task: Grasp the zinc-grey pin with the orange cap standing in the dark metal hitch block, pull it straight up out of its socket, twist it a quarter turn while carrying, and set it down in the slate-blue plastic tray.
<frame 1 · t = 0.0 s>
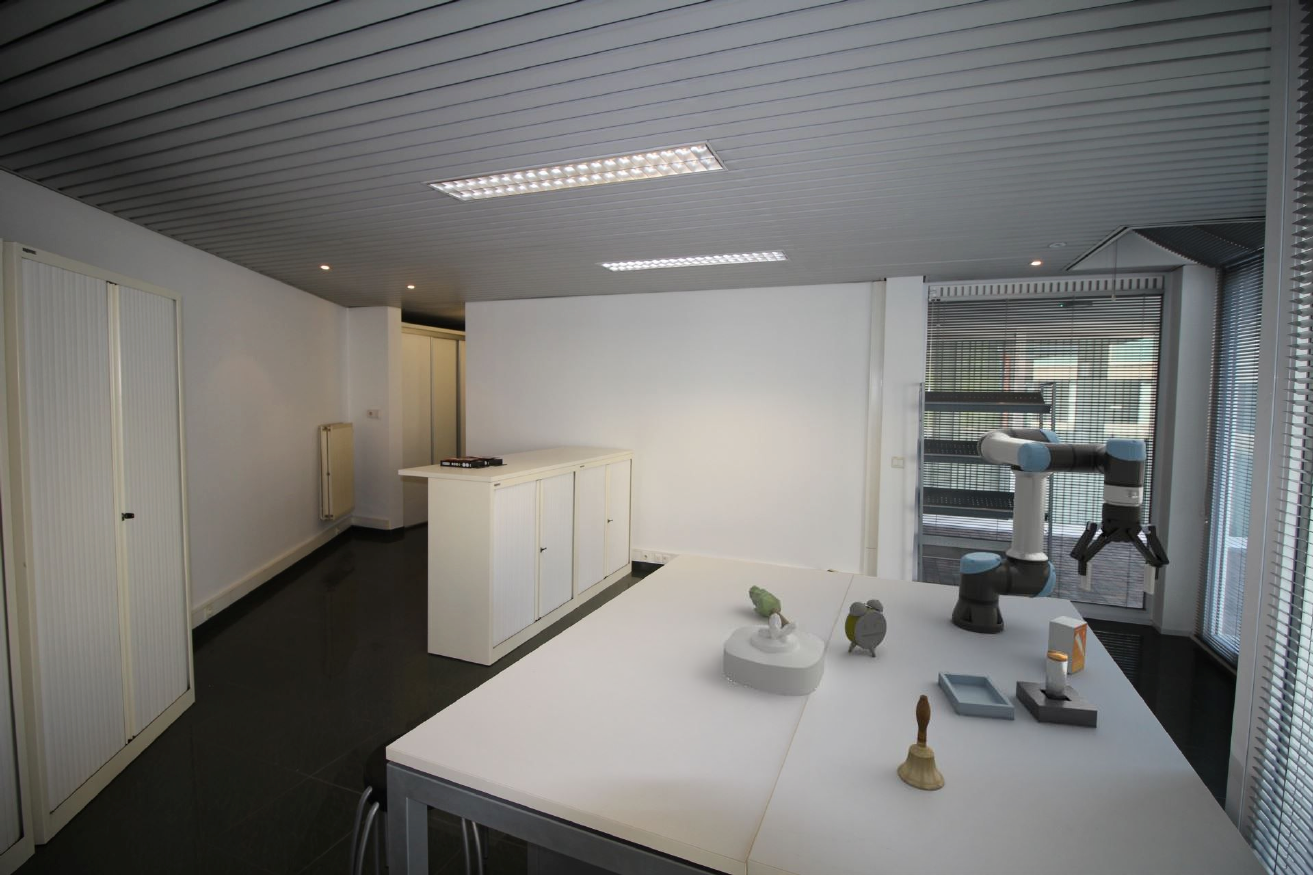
hand: (1116, 590, 143), 28 cm above the table, fingers open, 13 cm apart
small box: (1065, 667, 165), on the table
decorative object: (770, 618, 200), on the table
hitch block: (1054, 711, 141), on the table
steel pin: (1055, 682, 140), in the hitch block
tissue box: (773, 671, 161), on the table
alarm clock: (866, 653, 173), on the table
tray: (973, 700, 146), on the table
hand bell: (920, 777, 116), on the table
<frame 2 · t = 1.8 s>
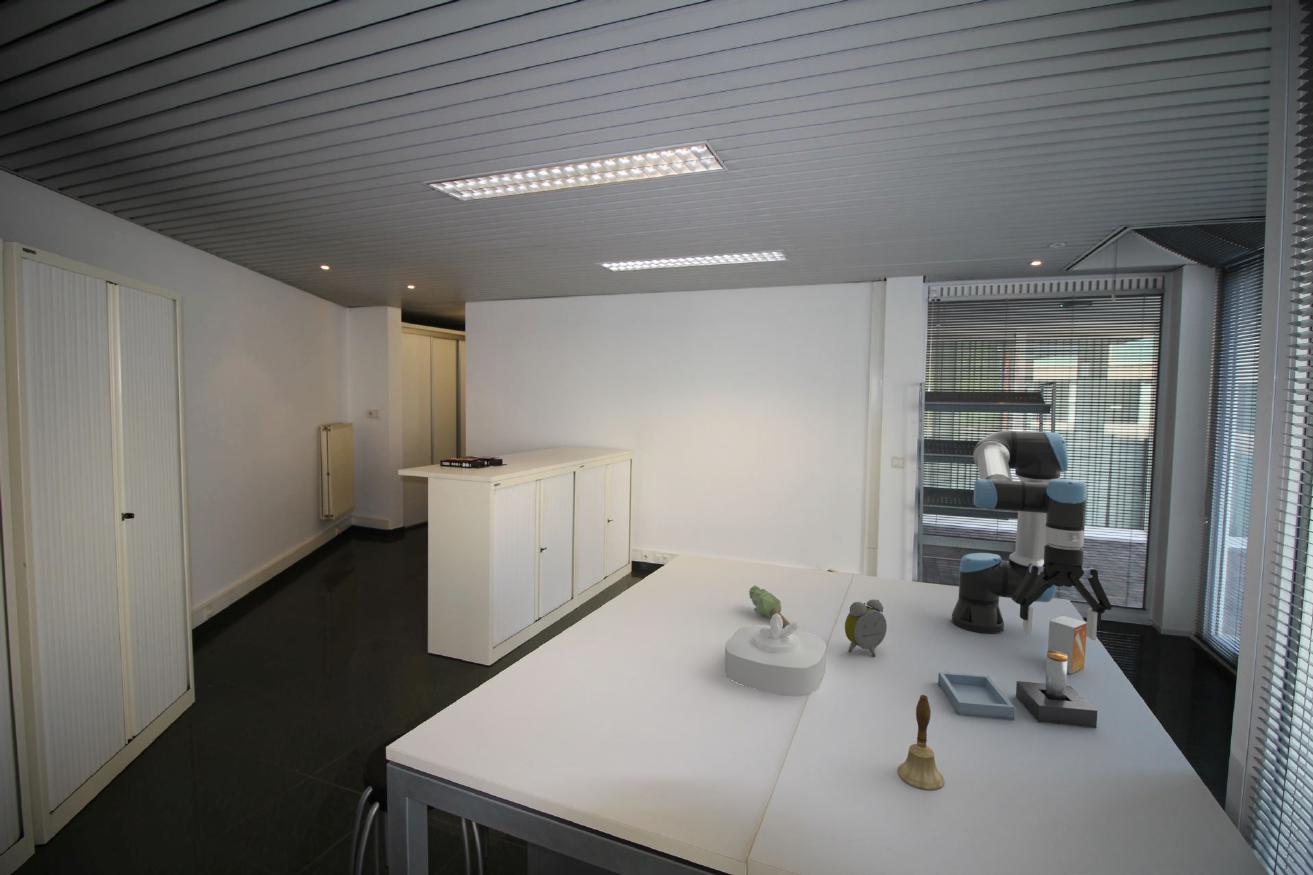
hand: (1058, 635, 139), 18 cm above the table, fingers open, 13 cm apart
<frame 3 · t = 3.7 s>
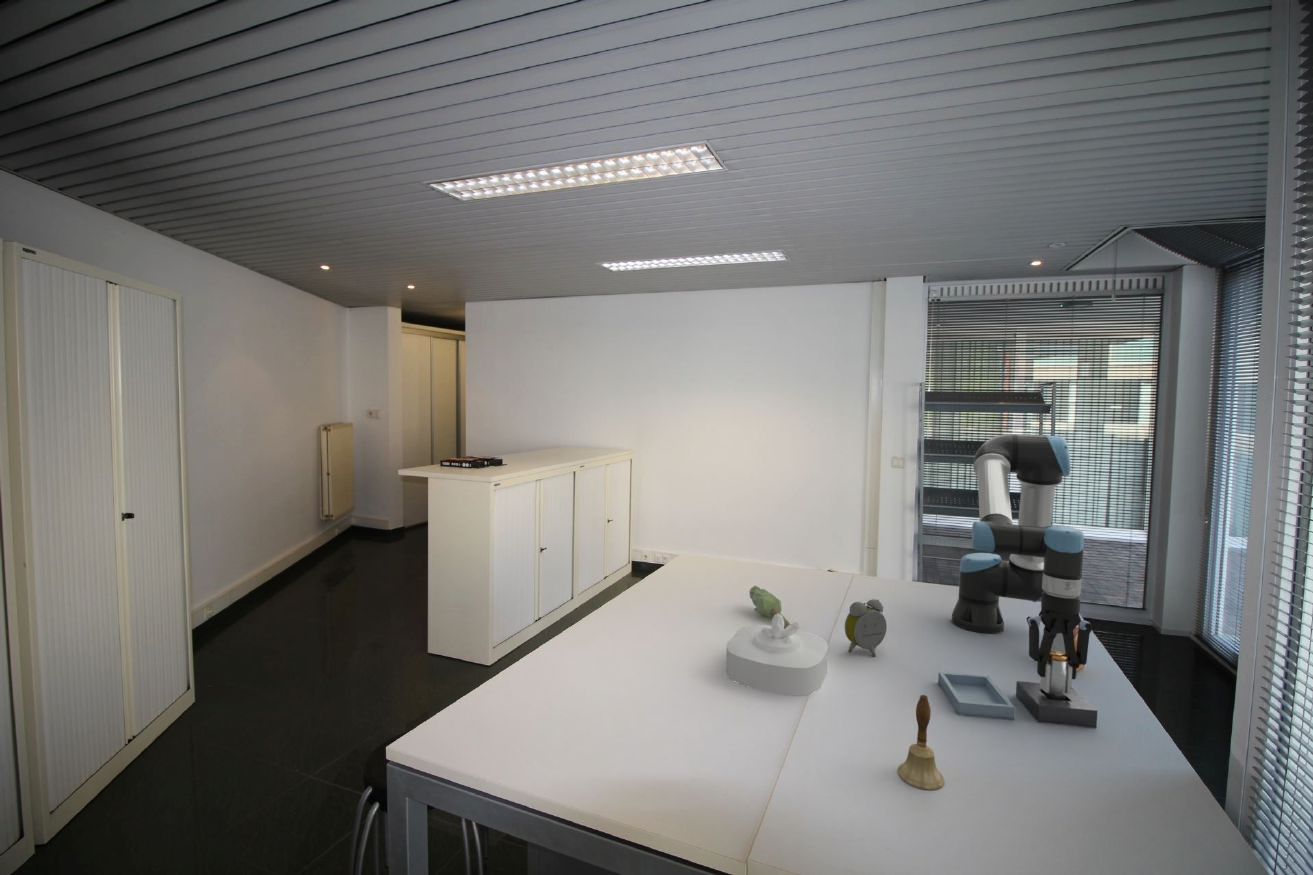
hand: (1055, 690, 141), 5 cm above the table, fingers closed on steel pin, 4 cm apart
steel pin: (1055, 682, 140), in the hitch block, touching gripper
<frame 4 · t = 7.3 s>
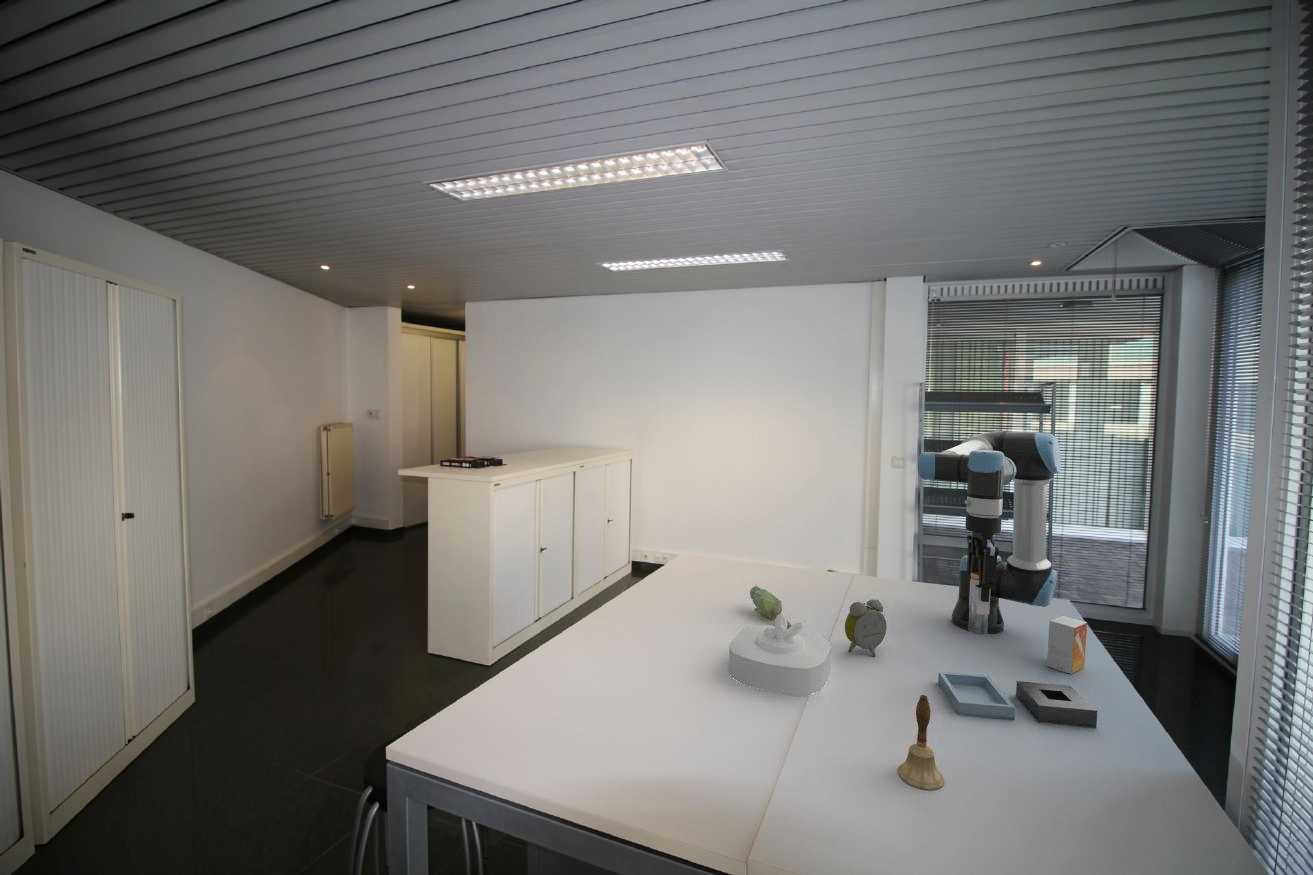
hand: (978, 610, 144), 23 cm above the table, fingers closed on steel pin, 4 cm apart
steel pin: (979, 602, 144), point 24 cm above the table, touching gripper
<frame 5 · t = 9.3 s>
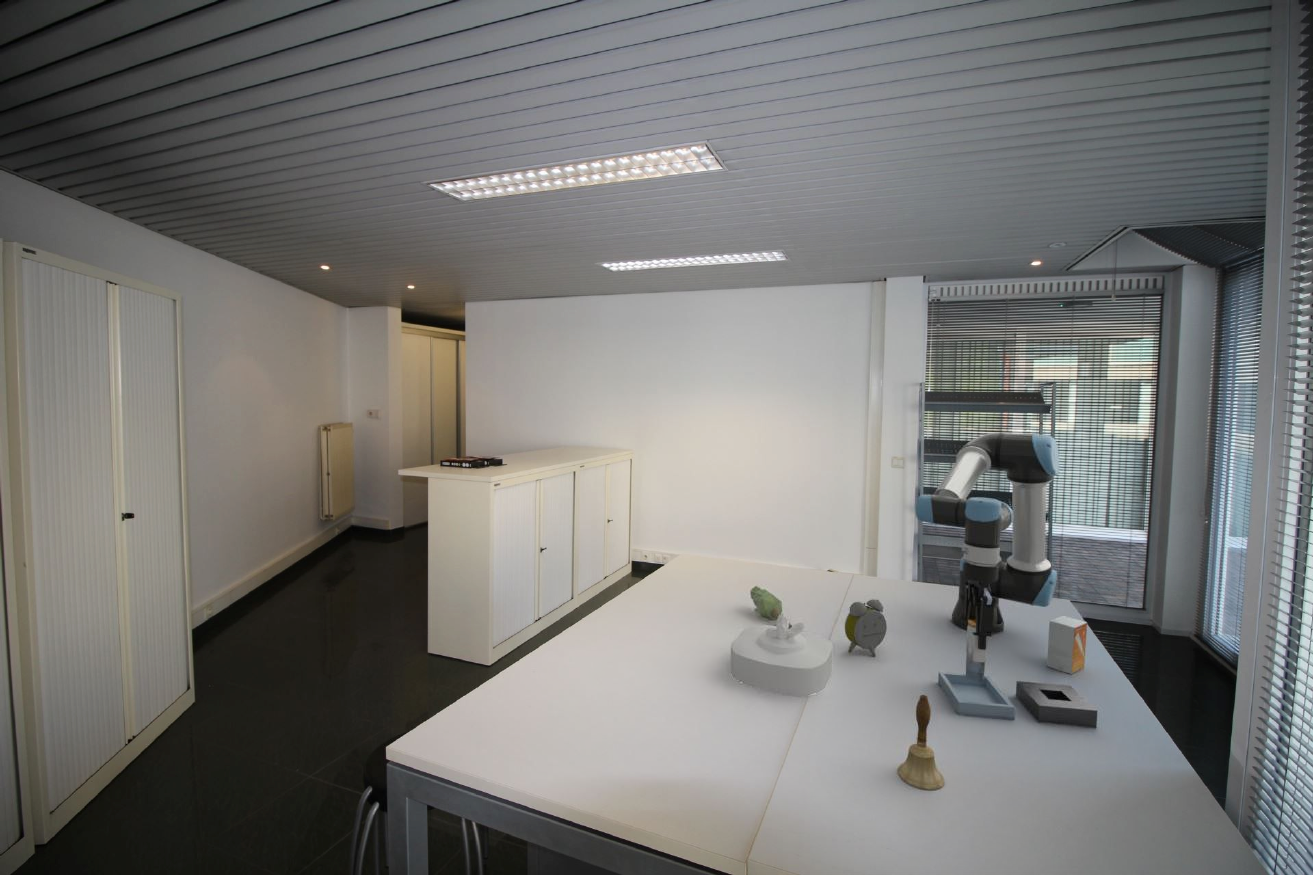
hand: (975, 656, 145), 11 cm above the table, fingers closed on steel pin, 4 cm apart
steel pin: (976, 649, 145), point 13 cm above the table, touching gripper
when the fingers open (7 cm above the table, at t = 10.8 s): steel pin drops 1 cm, resting on tray.
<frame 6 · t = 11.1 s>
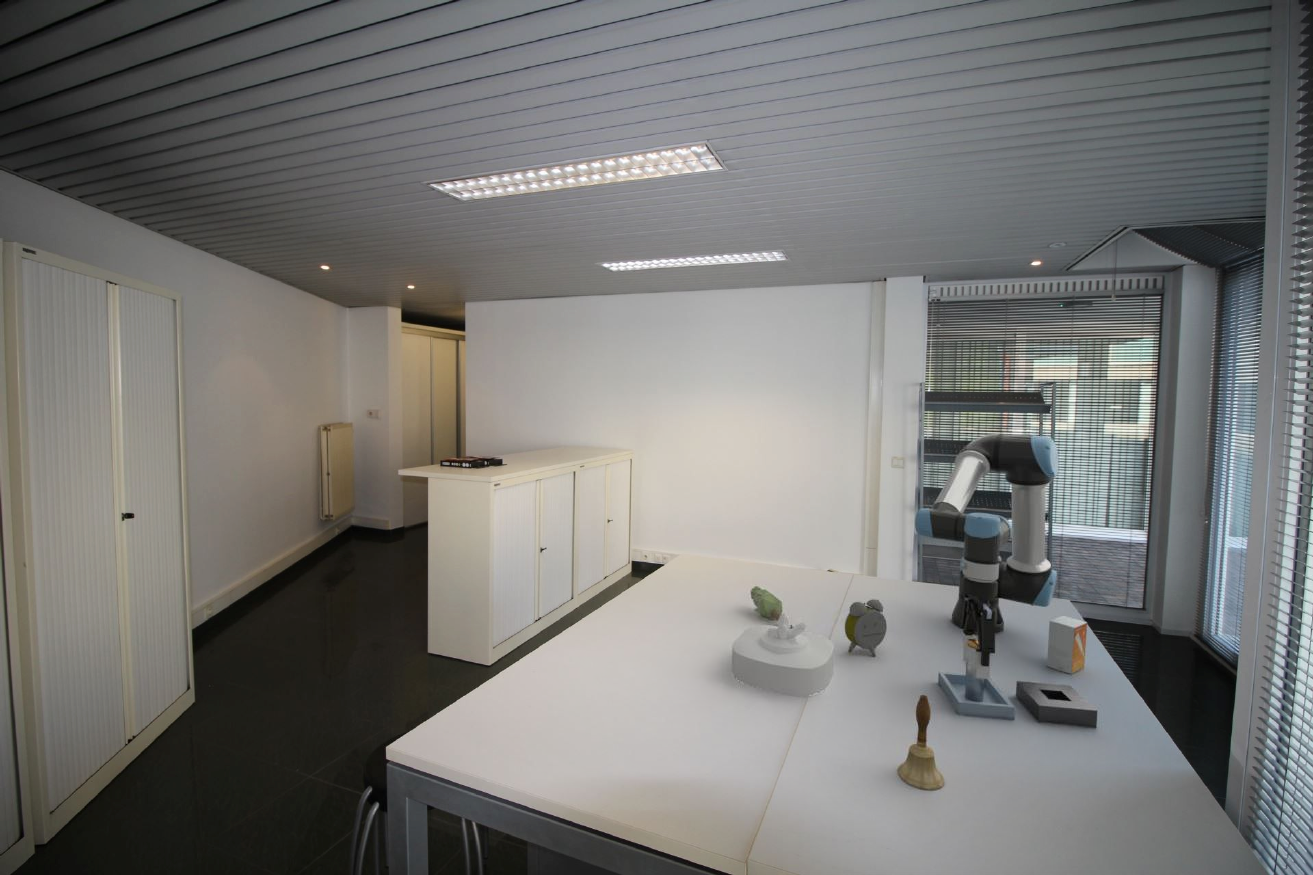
hand: (975, 669, 145), 8 cm above the table, fingers open, 8 cm apart
steel pin: (975, 669, 145), in the tray, point 8 cm above the table
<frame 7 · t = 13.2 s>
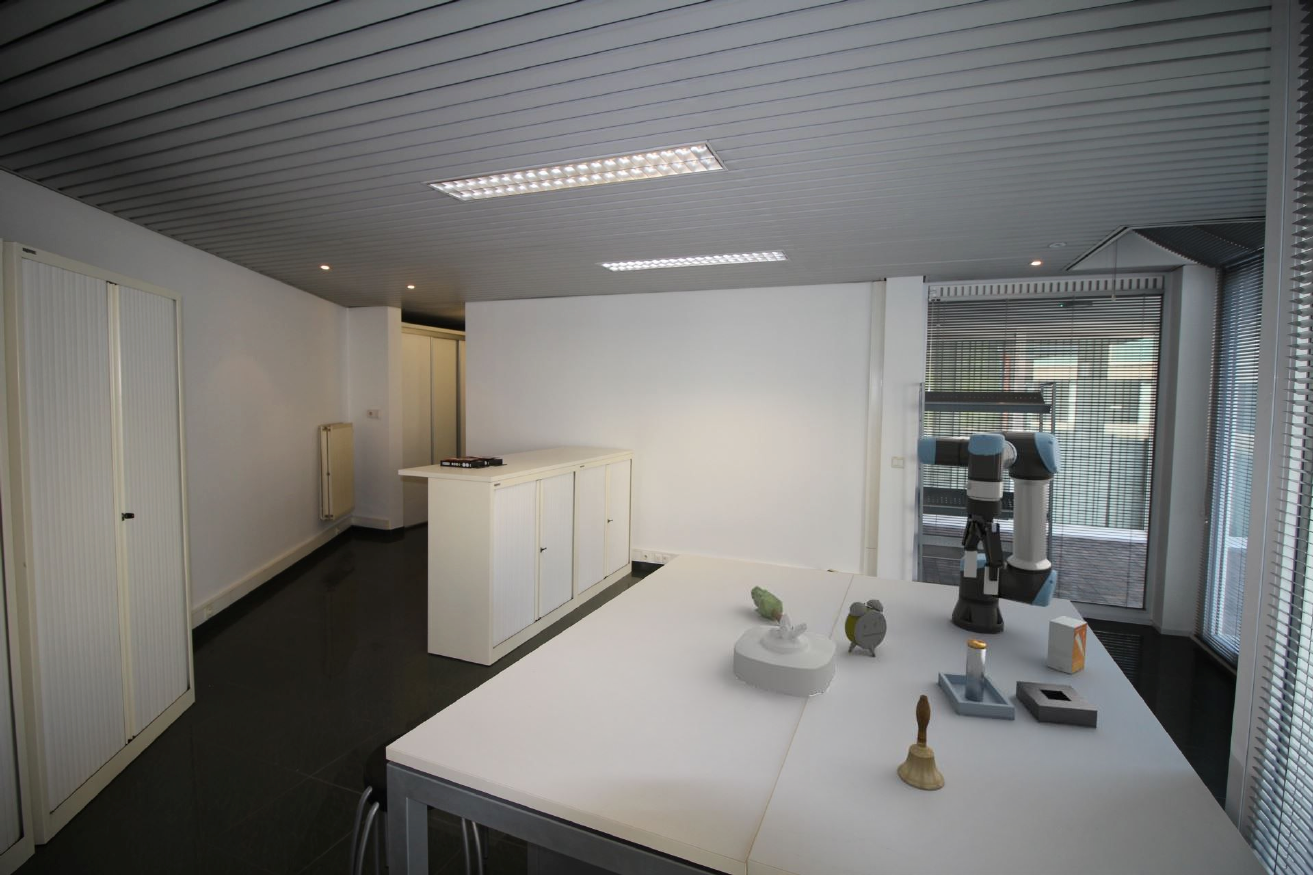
hand: (979, 585, 144), 29 cm above the table, fingers open, 13 cm apart
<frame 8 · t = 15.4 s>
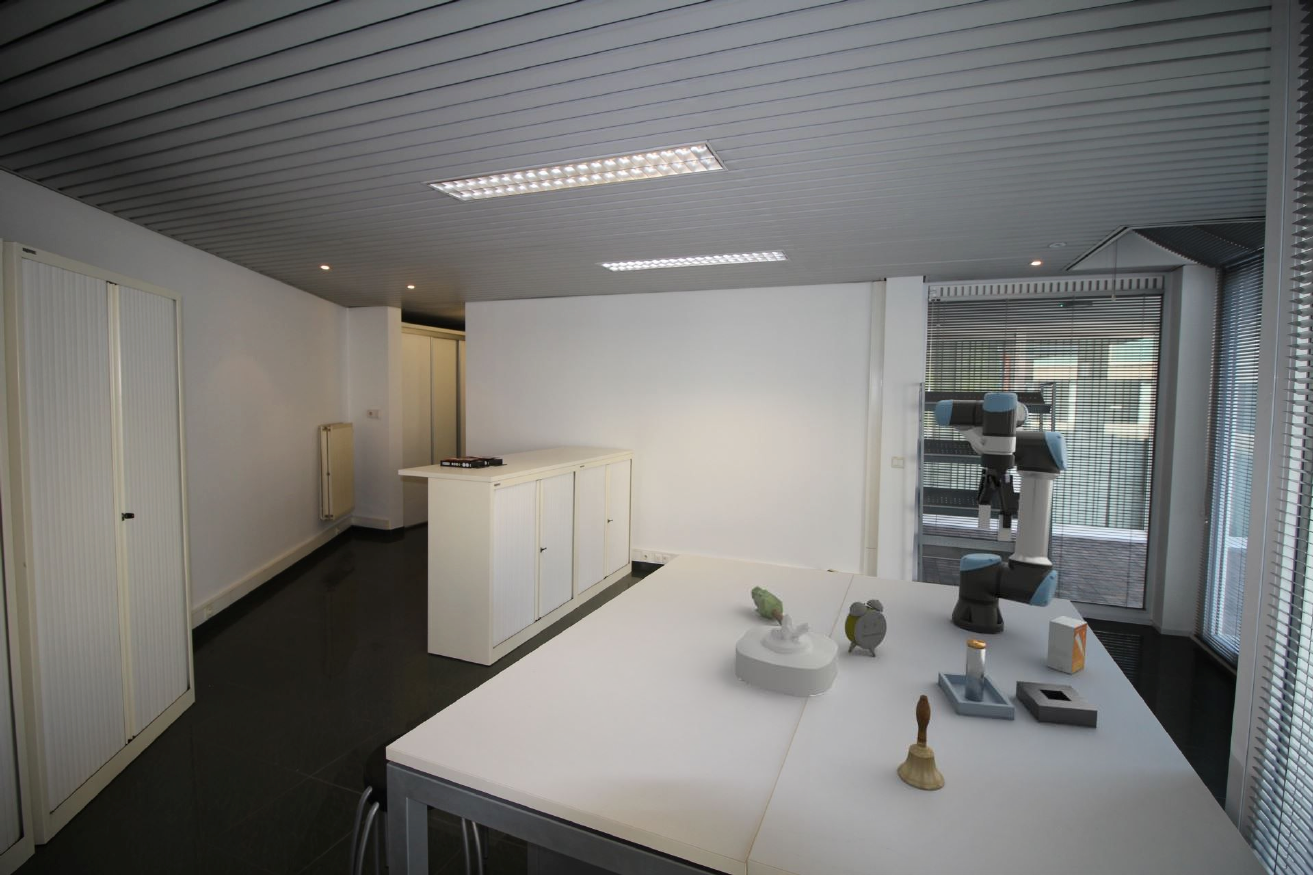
hand: (993, 534, 154), 39 cm above the table, fingers open, 13 cm apart
at the end: steel pin inside the target area on the tray (0.0 cm from its centre), point 7.6 cm above the tray's base; steel pin touching tray; the gripper is holding nothing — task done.
